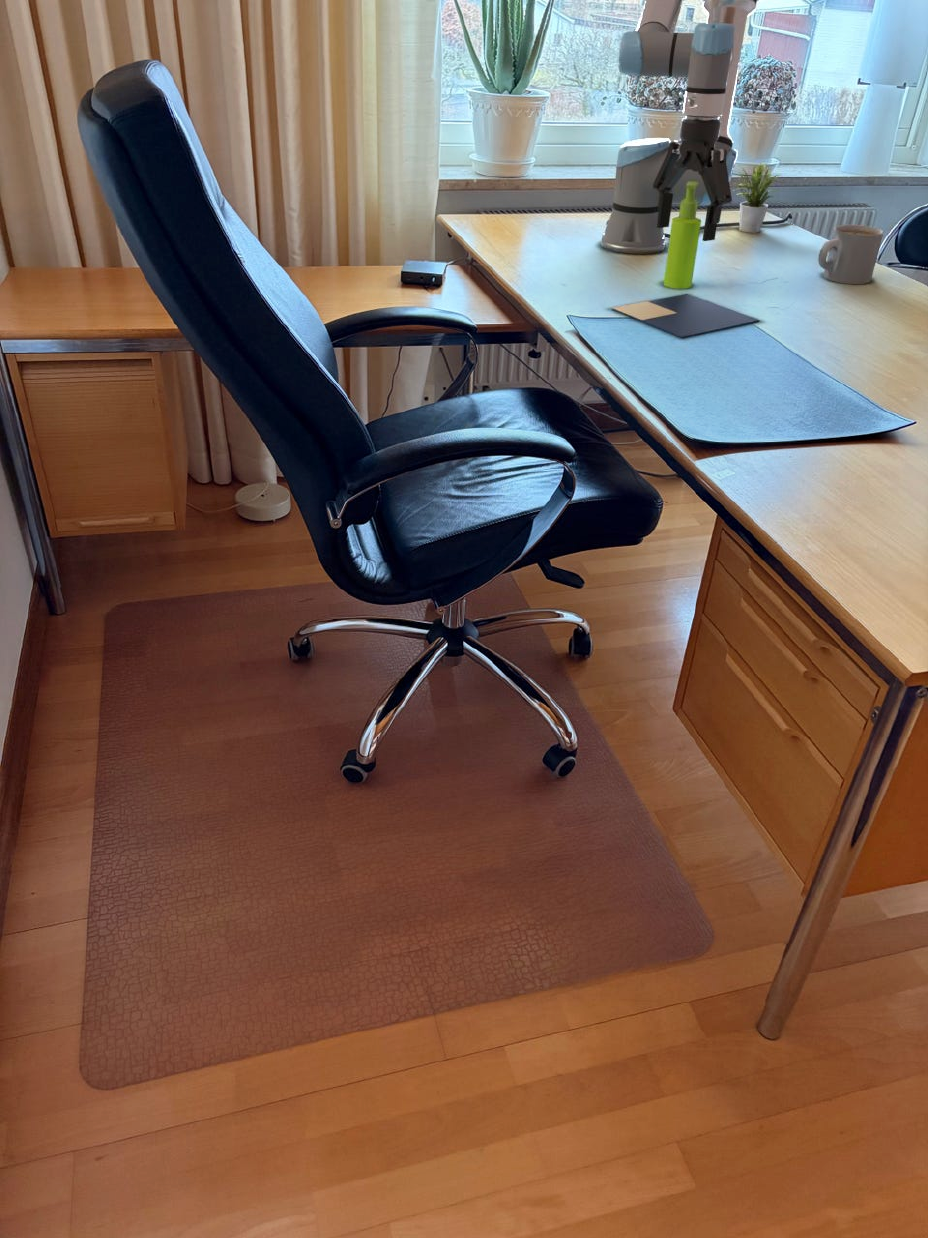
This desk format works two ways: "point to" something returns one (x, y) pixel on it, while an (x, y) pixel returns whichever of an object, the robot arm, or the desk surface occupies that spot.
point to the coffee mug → (851, 254)
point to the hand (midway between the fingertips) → (685, 233)
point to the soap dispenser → (683, 242)
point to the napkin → (684, 315)
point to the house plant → (754, 200)
